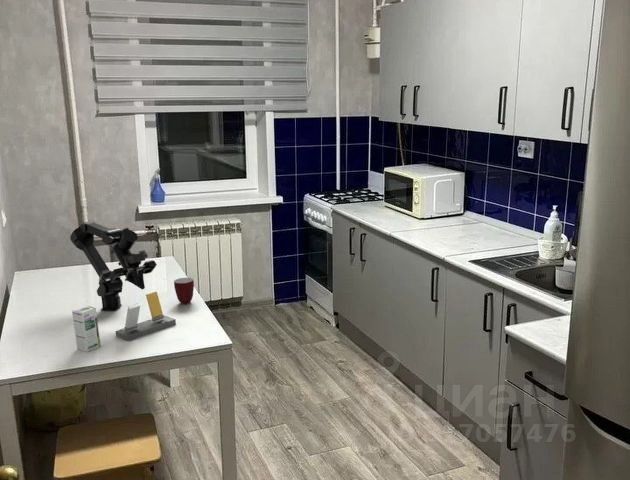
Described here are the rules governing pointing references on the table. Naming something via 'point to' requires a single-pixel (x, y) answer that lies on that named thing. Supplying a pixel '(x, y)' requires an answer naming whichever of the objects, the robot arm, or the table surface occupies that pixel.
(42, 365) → the table surface
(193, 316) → the table surface
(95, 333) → the syrup box
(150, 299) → the rocker amber
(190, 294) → the mug
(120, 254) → the robot arm
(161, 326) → the grey switch base
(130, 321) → the rocker grey
